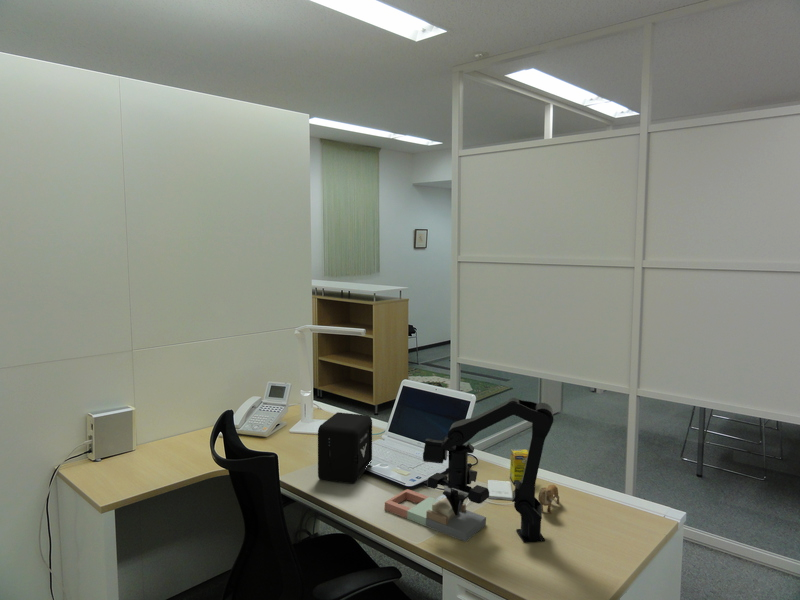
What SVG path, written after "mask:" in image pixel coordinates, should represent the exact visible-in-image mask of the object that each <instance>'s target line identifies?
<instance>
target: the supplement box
mask: <svg viewBox="0 0 800 600" xmlns="http://www.w3.org/2000/svg"><path fill="white" fill-rule="evenodd" d="M528 451H529V450H527V449H510V463H509V464H510V467H509V468H510V469H509V479H510V480H511V483H512V484H513V485H515V484H516V480H517V481H521V480H522V478H523V474H524V470H525V465H526V460H527V455H528Z"/></svg>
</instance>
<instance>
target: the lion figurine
mask: <svg viewBox="0 0 800 600" xmlns="http://www.w3.org/2000/svg"><path fill="white" fill-rule="evenodd" d="M537 498H538V499H537V500H538V501H539V502H540V503H541V504H542V513H543V512H544V506H545V507H546V506H547V508H546V512H547V514H552V510H551V509H552V503H553V502H554V500H555V498H556V500H555V504H558V505H559V504H560V496H559V489H558V487H557V486H556V485H555V484H549V485H548V486H547V487H542V488H541V489H540V491H539V492H538V497H537Z"/></svg>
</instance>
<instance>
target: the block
mask: <svg viewBox="0 0 800 600" xmlns="http://www.w3.org/2000/svg"><path fill="white" fill-rule="evenodd" d="M437 500H438V501H437V502H435V503H434V504H432V511H433V512H436V513H439V514H441V515H444V516H447V517H448V520H449V519H451V518H452V517H453V516H455V513H454V511H453V509H452V507H451V505H450V503H449V501H448V499H446V497H440V499H437Z"/></svg>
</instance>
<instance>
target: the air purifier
mask: <svg viewBox="0 0 800 600" xmlns="http://www.w3.org/2000/svg"><path fill="white" fill-rule="evenodd" d="M371 460H372V461H373V420H372V417H371V416H370V415H367V414H360V413H359V414H357V413H348V412H346V413H345V412H339V411H337V412H336V413H334V414H333V415H332V416H331V417H329V418H328V419H326V421H323V423H322V424H320V425H319V426H318V430H317V477H318V479H320V480H325V481H330V482H331V481H333V482H337V483H338V482H340V483H348V484H354V483H356V482H357V481H358V480H359V478H361V476H363V474H364V473H365V472H366V470H365V468H366V466H367V465H368V464H369V462H370V461H371Z"/></svg>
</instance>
